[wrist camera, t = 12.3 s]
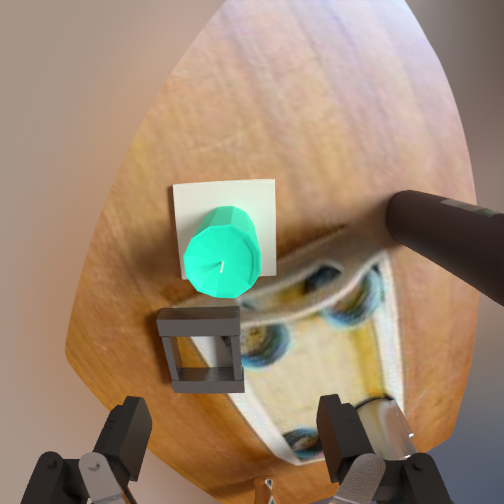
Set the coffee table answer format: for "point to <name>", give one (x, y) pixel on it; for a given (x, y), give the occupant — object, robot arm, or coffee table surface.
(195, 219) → the coaster
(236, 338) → the holder collar
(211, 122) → the coffee table surface
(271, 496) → the beer glass
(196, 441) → the coffee table surface
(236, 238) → the candle
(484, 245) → the wine bottle
